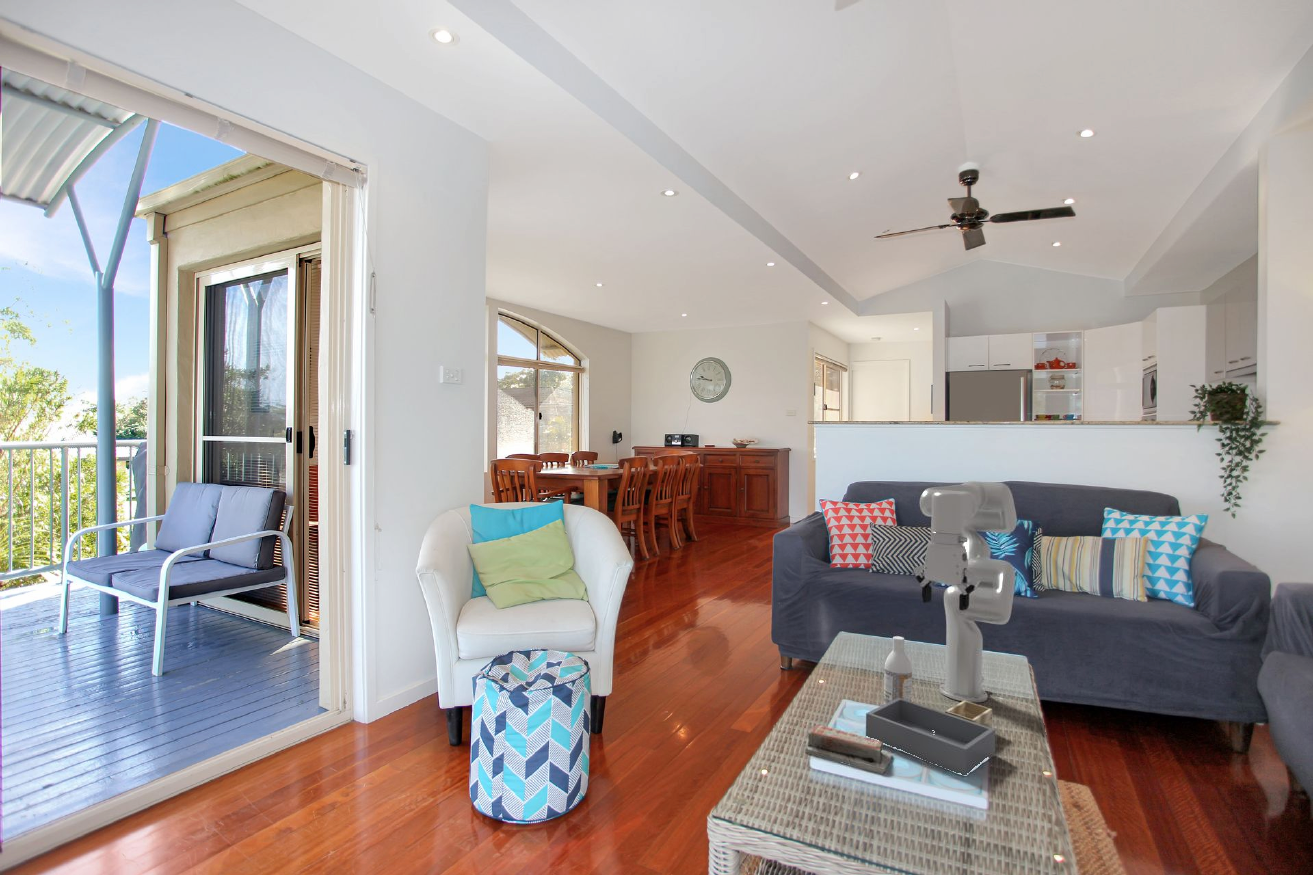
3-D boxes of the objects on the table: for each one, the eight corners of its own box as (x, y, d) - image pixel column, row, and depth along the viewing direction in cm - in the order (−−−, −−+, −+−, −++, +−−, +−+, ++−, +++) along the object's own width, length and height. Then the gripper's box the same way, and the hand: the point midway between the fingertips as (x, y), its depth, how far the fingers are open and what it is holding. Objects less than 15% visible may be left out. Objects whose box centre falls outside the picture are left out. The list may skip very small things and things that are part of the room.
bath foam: (900, 719, 170) (901, 643, 170) (878, 709, 176) (879, 636, 176) (916, 713, 174) (917, 639, 174) (894, 704, 179) (895, 632, 180)
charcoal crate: (898, 720, 169) (898, 697, 169) (994, 754, 151) (995, 729, 151) (865, 737, 158) (866, 713, 159) (965, 777, 140) (965, 749, 140)
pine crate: (963, 723, 169) (964, 700, 169) (991, 732, 163) (992, 709, 163) (944, 735, 161) (945, 711, 161) (973, 745, 156) (973, 720, 156)
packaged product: (804, 733, 150) (816, 718, 159) (803, 754, 150) (816, 738, 159) (884, 754, 141) (893, 737, 149) (883, 776, 141) (893, 758, 149)
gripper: (987, 543, 164) (985, 610, 163) (922, 534, 177) (920, 597, 177) (973, 544, 159) (971, 614, 158) (907, 536, 172) (906, 600, 172)
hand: (944, 605), depth 167 cm, fingers open, 9 cm apart
